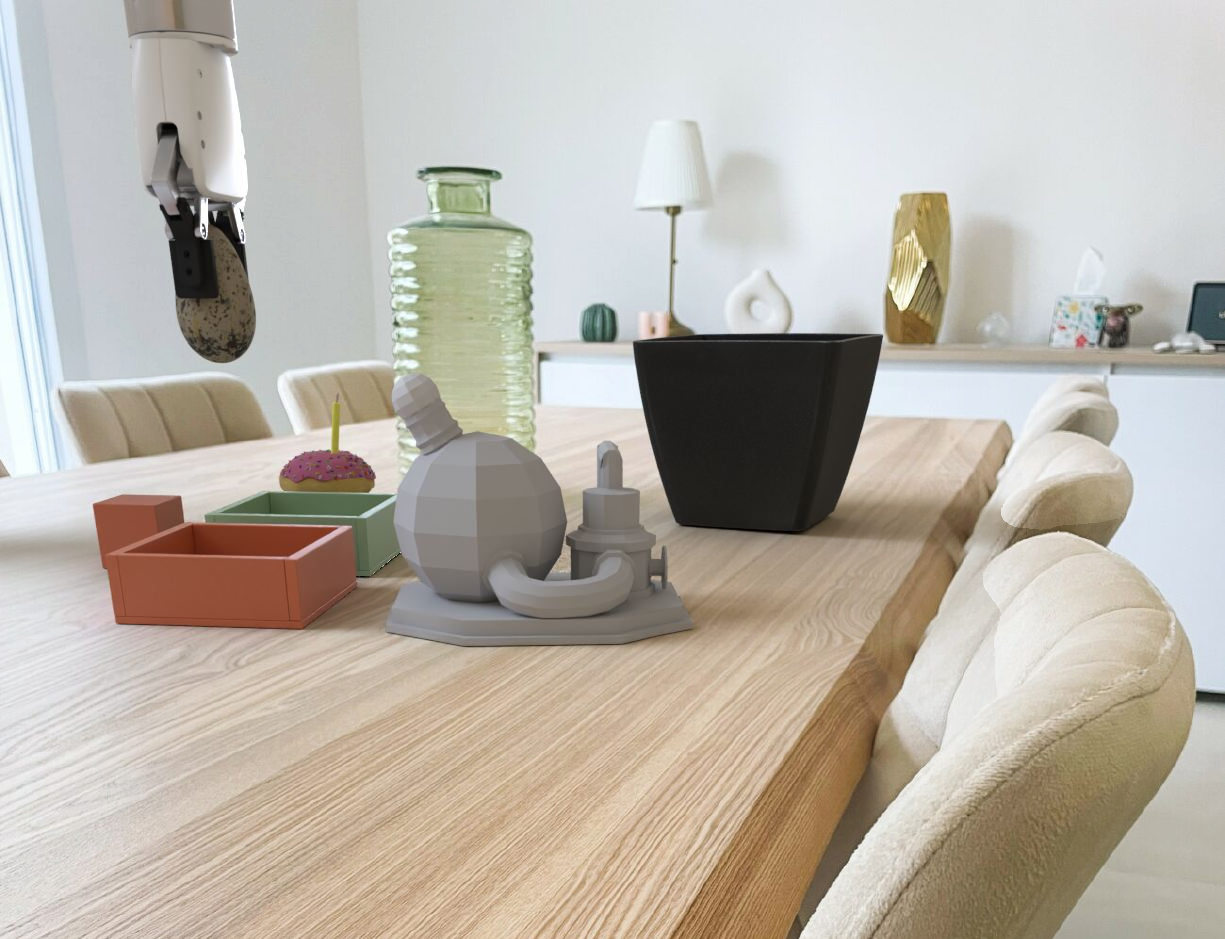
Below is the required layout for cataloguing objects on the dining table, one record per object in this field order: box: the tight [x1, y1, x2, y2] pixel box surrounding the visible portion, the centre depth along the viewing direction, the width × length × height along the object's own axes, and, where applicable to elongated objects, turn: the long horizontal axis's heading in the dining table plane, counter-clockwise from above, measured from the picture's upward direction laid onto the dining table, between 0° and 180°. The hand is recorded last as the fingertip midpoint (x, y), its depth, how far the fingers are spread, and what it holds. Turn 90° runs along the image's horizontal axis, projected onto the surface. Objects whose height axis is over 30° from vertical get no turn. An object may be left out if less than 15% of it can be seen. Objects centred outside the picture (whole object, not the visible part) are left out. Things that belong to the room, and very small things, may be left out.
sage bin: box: [203, 490, 401, 577], centre depth 99 cm, size 13×13×4 cm
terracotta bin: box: [105, 521, 358, 630], centre depth 85 cm, size 13×13×4 cm
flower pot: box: [632, 332, 884, 532], centre depth 116 cm, size 19×19×17 cm
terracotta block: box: [92, 493, 186, 569], centre depth 97 cm, size 5×5×5 cm
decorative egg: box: [174, 224, 257, 364], centre depth 95 cm, size 6×6×10 cm
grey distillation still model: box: [385, 372, 694, 647], centre depth 80 cm, size 20×15×15 cm
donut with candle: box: [278, 392, 377, 493], centre depth 111 cm, size 9×8×12 cm
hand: (214, 295), depth 95 cm, fingers closed on decorative egg, 5 cm apart
